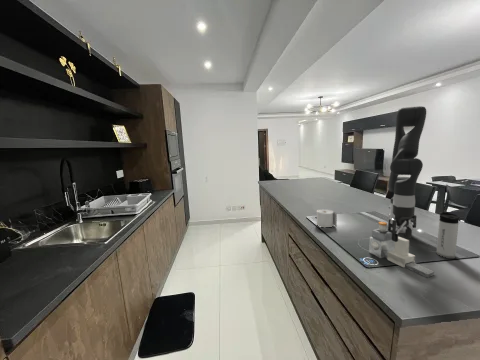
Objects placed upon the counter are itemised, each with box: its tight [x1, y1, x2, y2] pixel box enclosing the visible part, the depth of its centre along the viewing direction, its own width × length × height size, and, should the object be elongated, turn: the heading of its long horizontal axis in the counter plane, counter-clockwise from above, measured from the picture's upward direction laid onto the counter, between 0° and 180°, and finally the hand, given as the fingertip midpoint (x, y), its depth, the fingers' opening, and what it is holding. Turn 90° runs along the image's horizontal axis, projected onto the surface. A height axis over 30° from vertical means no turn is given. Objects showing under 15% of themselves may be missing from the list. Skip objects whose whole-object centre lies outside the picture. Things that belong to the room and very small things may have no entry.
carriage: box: [387, 236, 416, 269], centre depth 93 cm, size 7×7×11 cm
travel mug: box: [436, 211, 460, 259], centre depth 96 cm, size 6×7×20 cm
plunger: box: [378, 221, 388, 233], centre depth 100 cm, size 3×3×5 cm
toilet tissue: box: [316, 208, 338, 228], centre depth 140 cm, size 11×12×10 cm
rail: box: [383, 253, 436, 278], centre depth 91 cm, size 18×4×2 cm, turn 19°
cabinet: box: [368, 228, 395, 259], centre depth 101 cm, size 6×9×12 cm, turn 109°
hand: (401, 239), depth 92 cm, fingers open, 8 cm apart
